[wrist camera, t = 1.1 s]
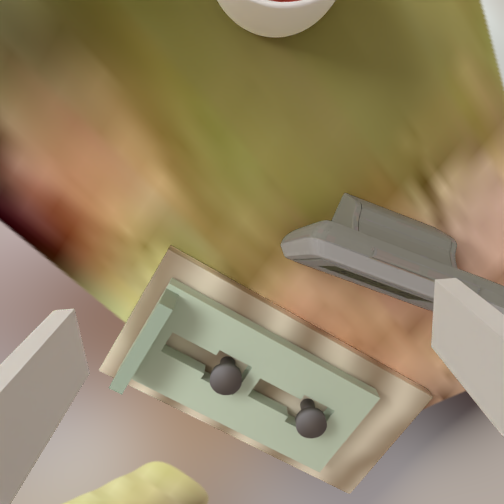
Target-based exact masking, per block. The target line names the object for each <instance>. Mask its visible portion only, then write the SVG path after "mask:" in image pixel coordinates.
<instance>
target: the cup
mask: <svg viewBox="0 0 504 504" xmlns="http://www.w3.org/2000/svg"><path fill="white" fill-rule="evenodd" d="M217 1H218V3H219V5H220V6H221V8H222V9H223V10H224V12H225V13H226V14H227V15H228V16H229V17H230V18H231V19H232V20H233V21H234V22H235V23H236V24H238V25H239V26H240V27H242V28H244V29H245V30H247V31H249V32H252V33H254V34H257V35H260V36H265V37H286V36H290V35H294V34H297V33H299V32H302V31H304V30H306V29H308V28H309V27H311V26H312V25H314V24H315V23H316V22H317V21H319V20H320V19H321V18H322V17H323V16H324V15H325V14H326V12H327V11H328V10H329V9H330V7H331V6H332V5H333V3H334V2H335V1H336V0H217Z"/></svg>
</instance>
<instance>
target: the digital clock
mask: <svg viewBox="0 0 504 504" xmlns="http://www.w3.org/2000/svg"><path fill="white" fill-rule="evenodd" d="M456 247H457V243H456V241H455V240H454V239H453V238H452V237H450V236H448V235H447V234H445V233H443V232H441V231H440V230H438V229H436V228H434V227H432V226H429V225H427V224H424V223H422V222H419V221H416V220H414V219H411V218H409V217H406V216H404V215H401V214H398V213H396V212H393V211H391V210H388V209H386V208H383V207H380V206H378V205H375V204H373V203H370V202H368V201H365V200H362V199H360V198H357V197H355V196H352V195H350V194H347V193H344V195H343V196H342V198H341V201H340V203H339V205H338V207H337V210H336V212H335V214H334V216H333V219H332V221H328V220H324V221H320V222H316V223H314V224H311V225H308V226H305V227H302V228H299V229H297V230H294V231H292V232H290V233H289V234H288V235H286V236H285V237H284V239H283V240H282V242H281V248H282V251H283V253H284V256H285V257H286V258H288V259H290V260H293V261H295V262H298V263H301V264H303V265H306V266H309V267H312V268H314V269H317V270H320V271H323V272H325V273H328V274H331V275H334V276H336V277H339V278H342V279H345V280H347V281H350V282H353V283H356V284H358V285H361V286H364V287H367V288H369V289H372V290H375V291H378V292H380V293H383V294H386V295H389V296H391V297H394V298H397V299H399V300H402V301H405V302H408V303H410V304H413V305H416V306H419V307H421V308H424V309H427V310H431V311H433V305H434V287H435V279H448V278H457V279H458V280H460V281H461V282H462V283H464V284H465V285H466V286H467V287H469V288H470V289H471V290H473V291H474V292H475V293H476V294H478V295H479V296H480V297H482V298H483V299H484V300H485V301H487V302H488V303H489V304H491V305H492V306H493V307H494V308H496V309H497V310H498V311H500V312H501V313H502V314H503V315H504V286H502V285H500V284H497V283H494V282H492V281H489V280H487V279H484V278H481V277H479V276H476V275H473V274H471V273H468V272H466V271H463V270H460V269H458V268H457V265H456V259H455V252H456Z"/></svg>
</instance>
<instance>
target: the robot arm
mask: <svg viewBox="0 0 504 504" xmlns="http://www.w3.org/2000/svg"><path fill="white" fill-rule="evenodd" d="M431 347H432V348H433V350H434V351H435V352H436V353H437V355H438V356H439V357H440V358H441V360H442V361H443V362H444V363H445V365H446V366H447V367H448V368H449V370H450V371H451V372H452V373H453V375H454V376H455V377H456V378H457V380H458V381H459V382H460V383H461V385H462V386H463V387H464V388H465V390H466V391H467V392H468V393H469V394H470V396H471V397H472V398H473V400H474V401H475V402H476V403H477V405H478V406H479V407H480V408H481V410H482V411H483V412H484V414H485V415H486V416H487V417H488V418H489V420H490V421H491V422H492V423H493V425H494V426H495V427H496V429H497V430H498V431H499V432H500V434H501V435H502V436H503V437H504V315H503V314H502V313H501V312H500V311H498V310H497V309H496V308H494V307H493V306H492V305H491V304H489V303H488V302H487V301H485V300H484V299H483V298H482V297H480V296H479V295H478V294H476V293H475V292H474V291H473V290H471V289H470V288H469V287H467V286H466V285H465V284H464V283H462V282H461V281H460V280H458V279H457V278H448V279H435V287H434V305H433V323H432V341H431ZM89 374H90V373H89V368H88V365H87V360H86V356H85V351H84V347H83V343H82V338H81V334H80V330H79V326H78V321H77V317H76V313H75V309H65V310H54V311H53V312H52V313H51V314H50V315H49V316H48V317H47V318H46V319H45V320H44V321H43V322H42V323H41V324H40V325H39V326H38V327H37V328H36V329H35V330H34V331H33V332H32V333H31V334H30V335H29V336H28V337H27V338H26V339H25V340H24V341H23V342H22V343H21V344H20V345H19V346H18V347H17V348H16V349H15V350H14V351H13V352H12V353H11V354H10V355H9V356H8V357H7V358H6V359H5V361H3V363H2V364H0V504H11V502H12V501H13V499H14V498H15V496H16V494H17V493H18V491H19V489H20V488H21V486H22V484H23V483H24V481H25V479H26V477H27V476H28V474H29V473H30V471H31V469H32V468H33V466H34V465H35V463H36V461H37V459H38V458H39V456H40V455H41V453H42V451H43V450H44V448H45V446H46V445H47V443H48V441H49V440H50V438H51V436H52V435H53V433H54V432H55V430H56V428H57V427H58V425H59V423H60V422H61V420H62V418H63V417H64V415H65V413H66V412H67V410H68V408H69V407H70V405H71V404H72V402H73V400H74V399H75V397H76V395H77V394H78V392H79V390H80V389H81V387H82V385H83V384H84V382H85V380H86V379H87V377H88V376H89Z"/></svg>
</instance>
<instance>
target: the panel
mask: <svg viewBox="0 0 504 504" xmlns="http://www.w3.org/2000/svg"><path fill="white" fill-rule="evenodd" d="M172 332H173V333H175V334H177V335H179V336H180V337H182V338H184V339H186V340H188V341H190V342H192V343H194V344H196V345H198V346H200V347H201V348H203V349H205V350H207V351H209V352H211V353H213V354H215V355H217V353H218V352H219V350H220V351H222V352H224V353H226V354H228V355H230V356H232V357H234V358H235V359H237V360H239V361H241V362H243V363H245V364H247V365H248V366H247V368H246V369H245V370H244V372H243V373H242V384H241V387H240V389H239V390H238V391H237V392H236V393H234V394H231V395H221V394H218V393H216V392H215V391H214V390H213V389H212V387H211V385H210V375H211V374H210V373H208V372H206V371H205V366H206V365H205V364H203V363H201V362H199V361H197V360H195V359H193V358H191V357H189V356H187V355H185V354H183V353H181V352H179V351H178V350H176V349H174V348H172V347H170V346H168V345H166V342H167V341H168V339H169V337H170V336H171V334H172ZM260 378H261V379H262V380H264V381H266V382H268V383H270V384H272V385H274V386H276V387H278V388H280V389H282V390H283V391H285V392H287V393H289V394H291V395H293V396H295V397H297V398H299V399H302V398H303V396H304V395H306V396H307V397H309V398H311V399H313V400H315V401H317V402H319V403H321V404H323V405H325V406H326V407H327V409H326V410H325V411H324V412H323V413H324V415H325V418H326V422H327V428H326V431H325V432H324V433H323V434H322V435H321V436H319V437H317V438H305V437H303V436H301V435H300V434H299V433H298V431H297V429H296V423H295V417H293V416H291V415H289V414H288V413H287V407H286V406H284V405H282V404H280V403H278V402H276V401H274V400H272V399H270V398H268V397H266V396H264V395H262V394H261V393H259V392H257V391H255V390H253V388H254V387H255V385H256V384H257V382H258V381H259V380H260ZM131 379H132V380H134V381H136V382H138V383H140V384H142V385H144V386H146V387H148V388H150V389H152V390H154V391H156V392H158V393H160V394H162V395H164V396H166V397H168V398H170V399H172V400H174V401H176V402H178V403H180V404H182V405H184V406H187V407H189V408H191V409H193V410H195V411H197V412H199V413H201V414H203V415H205V416H207V417H209V418H211V419H213V420H215V421H217V422H219V423H221V424H223V425H225V426H227V427H229V428H231V429H233V430H235V431H237V432H239V433H241V434H243V435H245V436H247V437H249V438H251V439H253V440H255V441H257V442H259V443H261V444H263V445H265V446H267V447H269V448H271V449H273V450H275V451H277V452H279V453H281V454H283V455H285V456H287V457H289V458H291V459H293V460H295V461H297V462H299V463H301V464H303V465H305V466H308V467H310V468H312V469H314V470H316V471H318V472H320V471H321V470H322V469H323V468H324V466H325V465H326V464H327V463H328V462H329V460H330V459H331V458H332V457H333V455H334V454H335V453H336V452H337V451H338V449H339V448H340V447H341V446H342V444H343V443H344V442H345V441H346V440H347V438H348V437H349V436H350V435H351V433H352V432H353V431H354V430H355V429H356V427H357V426H358V425H359V424H360V422H361V421H362V420H363V419H364V418H365V416H366V415H367V414H368V413H369V411H370V410H371V409H372V408H373V407H374V405H375V404H376V403H377V402H378V400H379V399H380V397H379V395H378V393H377V390H376V389H375V388H373V387H371V386H369V385H367V384H366V383H364V382H362V381H360V380H358V379H356V378H355V377H353V376H351V375H349V374H347V373H346V372H344V371H342V370H340V369H338V368H336V367H335V366H333V365H331V364H329V363H327V362H325V361H324V360H322V359H320V358H318V357H316V356H314V355H313V354H311V353H309V352H307V351H305V350H304V349H302V348H300V347H298V346H296V345H294V344H293V343H291V342H289V341H287V340H285V339H283V338H282V337H280V336H278V335H276V334H274V333H273V332H271V331H269V330H267V329H265V328H263V327H262V326H260V325H258V324H256V323H254V322H252V321H251V320H249V319H247V318H245V317H243V316H241V315H240V314H238V313H236V312H234V311H232V310H231V309H229V308H227V307H225V306H223V305H221V304H220V303H218V302H216V301H214V300H212V299H210V298H209V297H207V296H205V295H203V294H201V293H199V292H198V291H196V290H194V289H192V288H190V287H189V286H187V285H185V284H183V283H181V282H179V281H178V280H176V279H174V278H171V280H170V282H169V284H168V285H167V287H166V289H165V290H164V292H163V294H162V295H161V297H160V299H159V301H158V302H157V304H156V306H155V307H154V309H153V311H152V312H151V314H150V316H149V318H148V319H147V321H146V323H145V324H144V326H143V328H142V329H141V331H140V333H139V335H138V336H137V338H136V340H135V341H134V343H133V345H132V346H131V348H130V350H129V352H128V353H127V355H126V357H125V358H124V360H123V362H122V363H121V365H120V367H119V369H118V371H117V373H116V375H115V377H114V379H113V381H112V383H111V385H110V387H109V388H110V389H112V390H114V391H116V392H118V393H120V394H122V393H123V391H124V390H125V388H126V387H127V385H128V384H129V382H130V380H131Z"/></svg>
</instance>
